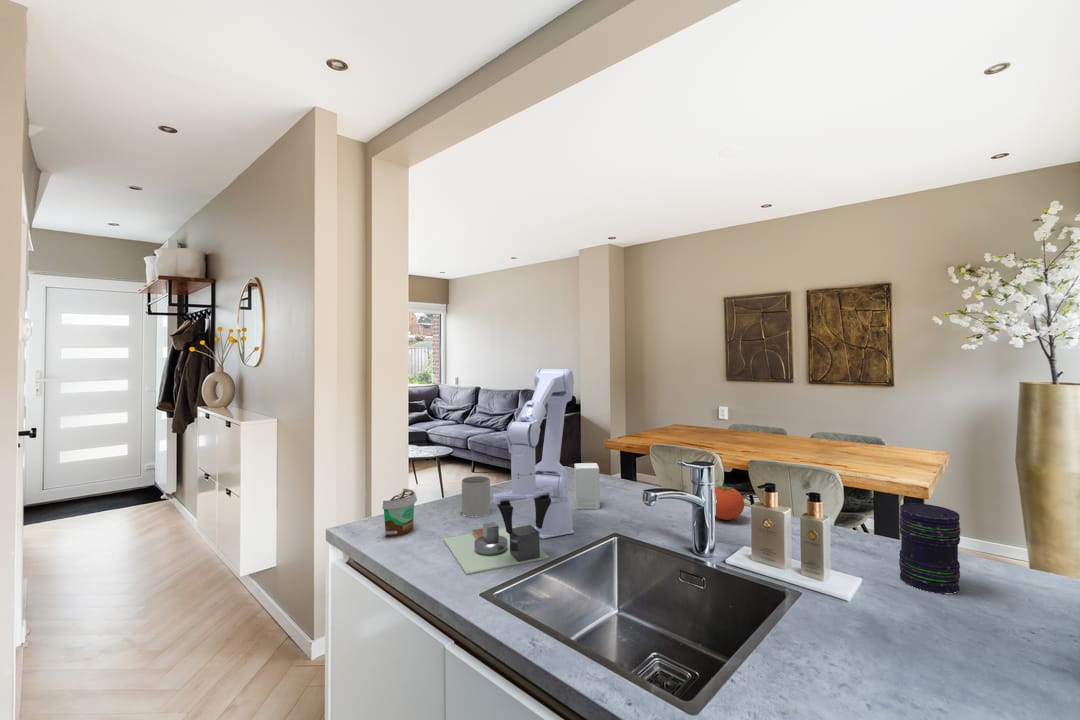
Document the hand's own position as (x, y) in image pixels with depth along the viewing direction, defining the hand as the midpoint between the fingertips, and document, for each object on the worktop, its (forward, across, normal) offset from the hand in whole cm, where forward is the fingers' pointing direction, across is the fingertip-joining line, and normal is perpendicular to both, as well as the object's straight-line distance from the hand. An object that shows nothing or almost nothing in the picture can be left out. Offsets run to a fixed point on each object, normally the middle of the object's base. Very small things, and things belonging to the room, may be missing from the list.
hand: (524, 529), depth 118 cm
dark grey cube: (+6, 0, 0) cm, 6 cm away
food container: (+7, -23, +30) cm, 38 cm away
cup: (+7, -1, +36) cm, 37 cm away
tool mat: (+6, -5, +8) cm, 11 cm away
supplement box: (+7, +32, +27) cm, 43 cm away
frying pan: (+6, -6, +11) cm, 14 cm away
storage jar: (+7, +70, -48) cm, 85 cm away
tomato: (+6, +61, -1) cm, 61 cm away
